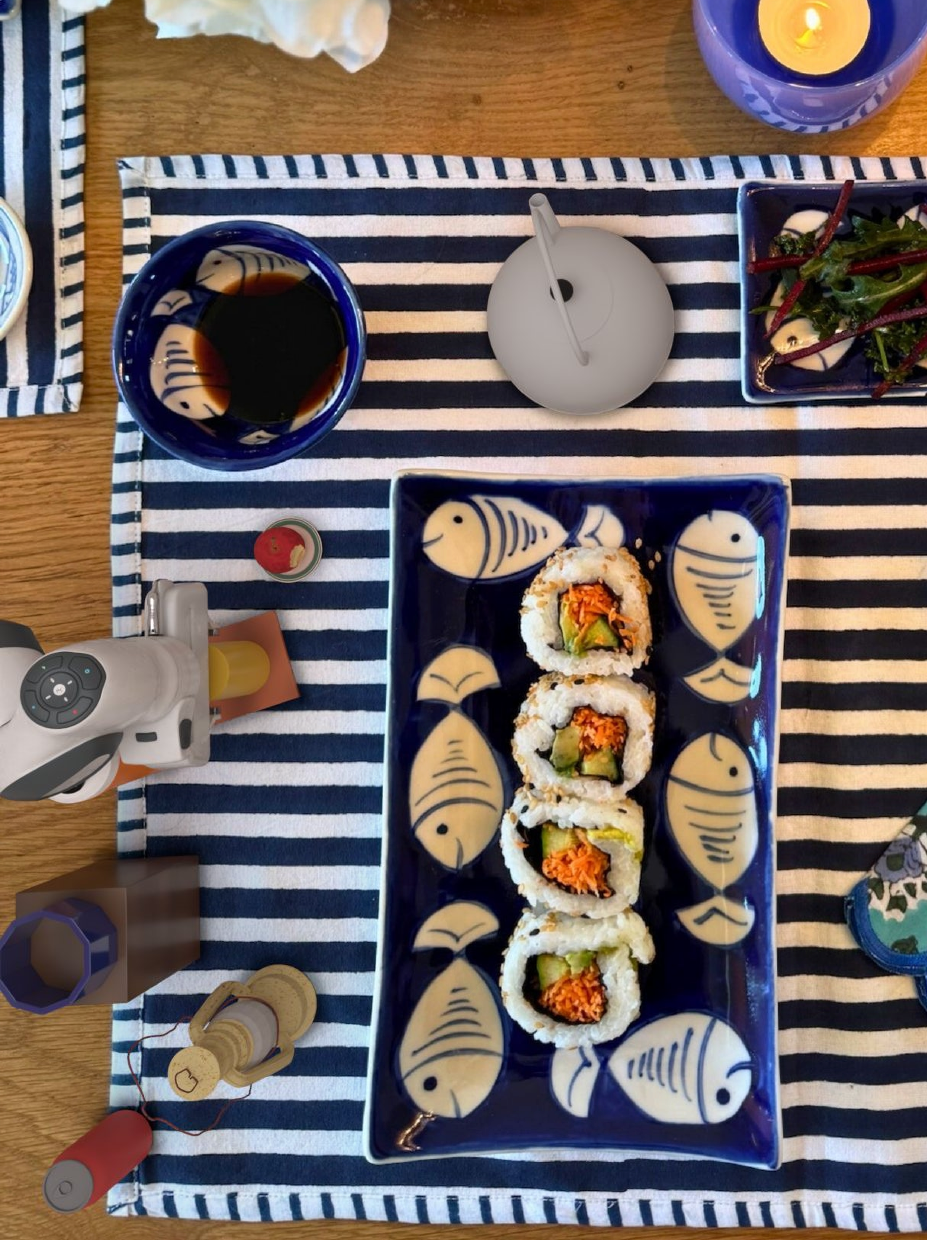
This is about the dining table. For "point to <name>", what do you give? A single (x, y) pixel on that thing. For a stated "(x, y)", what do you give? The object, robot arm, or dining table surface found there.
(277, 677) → the coaster
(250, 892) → the dining table surface
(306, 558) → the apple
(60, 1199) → the beer can
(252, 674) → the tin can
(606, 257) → the kettle
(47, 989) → the blue faceted ring
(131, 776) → the shaker bottle
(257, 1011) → the lantern
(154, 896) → the stand
